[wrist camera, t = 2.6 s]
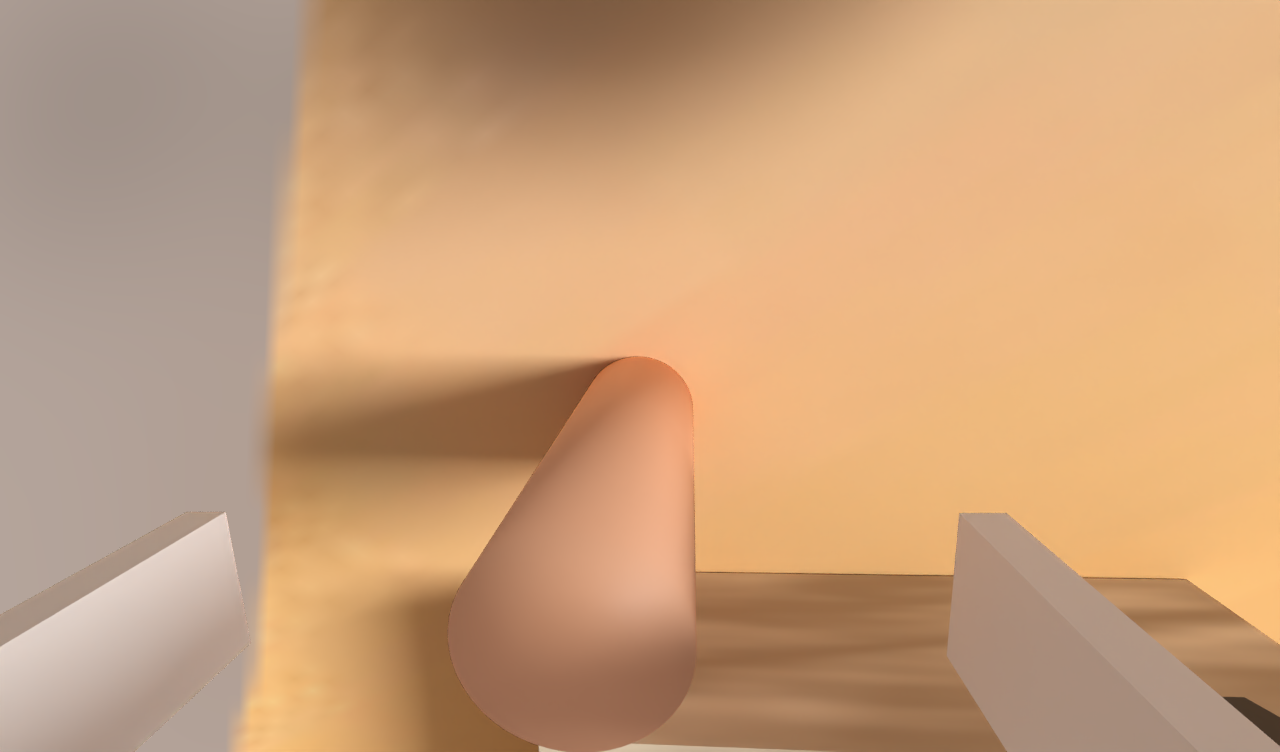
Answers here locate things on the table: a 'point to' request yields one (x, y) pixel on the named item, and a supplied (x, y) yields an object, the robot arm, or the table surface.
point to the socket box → (897, 662)
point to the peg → (591, 575)
